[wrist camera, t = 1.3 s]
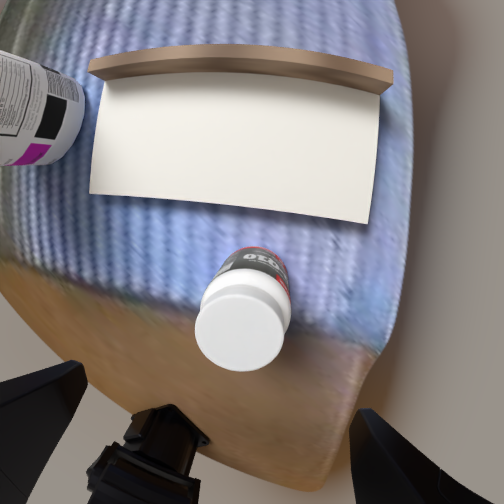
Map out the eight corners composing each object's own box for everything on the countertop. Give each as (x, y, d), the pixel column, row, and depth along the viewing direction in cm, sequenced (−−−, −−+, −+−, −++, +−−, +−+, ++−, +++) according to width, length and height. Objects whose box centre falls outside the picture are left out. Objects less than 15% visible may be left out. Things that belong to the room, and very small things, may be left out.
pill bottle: (301, 273, 20) (317, 331, 12) (259, 319, 21) (249, 393, 13) (248, 230, 19) (229, 263, 11) (208, 280, 20) (168, 338, 12)
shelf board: (374, 87, 16) (393, 70, 13) (362, 221, 19) (380, 230, 15) (115, 74, 17) (90, 59, 14) (97, 192, 20) (69, 195, 16)
